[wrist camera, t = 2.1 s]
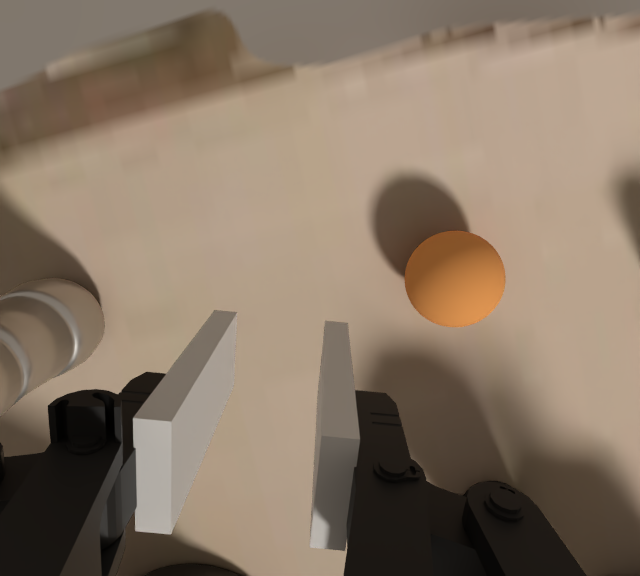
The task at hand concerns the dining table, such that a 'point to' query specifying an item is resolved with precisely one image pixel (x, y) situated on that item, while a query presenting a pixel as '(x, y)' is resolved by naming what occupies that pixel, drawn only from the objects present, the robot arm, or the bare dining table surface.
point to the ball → (455, 278)
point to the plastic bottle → (44, 334)
